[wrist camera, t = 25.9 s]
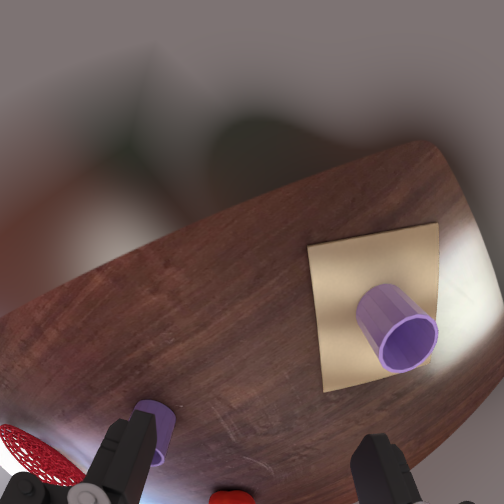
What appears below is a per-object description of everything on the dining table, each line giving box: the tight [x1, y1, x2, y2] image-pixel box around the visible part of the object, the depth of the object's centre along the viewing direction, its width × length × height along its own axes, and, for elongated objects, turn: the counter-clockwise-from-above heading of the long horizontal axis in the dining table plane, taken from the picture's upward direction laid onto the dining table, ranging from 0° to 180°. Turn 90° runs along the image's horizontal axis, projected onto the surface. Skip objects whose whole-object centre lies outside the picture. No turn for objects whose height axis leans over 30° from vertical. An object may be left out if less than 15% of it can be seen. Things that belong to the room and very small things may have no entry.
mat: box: [307, 222, 439, 392], centre depth 32 cm, size 20×16×1 cm
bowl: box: [0, 424, 86, 486], centre depth 43 cm, size 29×30×5 cm
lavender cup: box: [356, 284, 438, 373], centre depth 28 cm, size 7×7×8 cm
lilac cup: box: [128, 400, 176, 466], centre depth 34 cm, size 7×7×8 cm
